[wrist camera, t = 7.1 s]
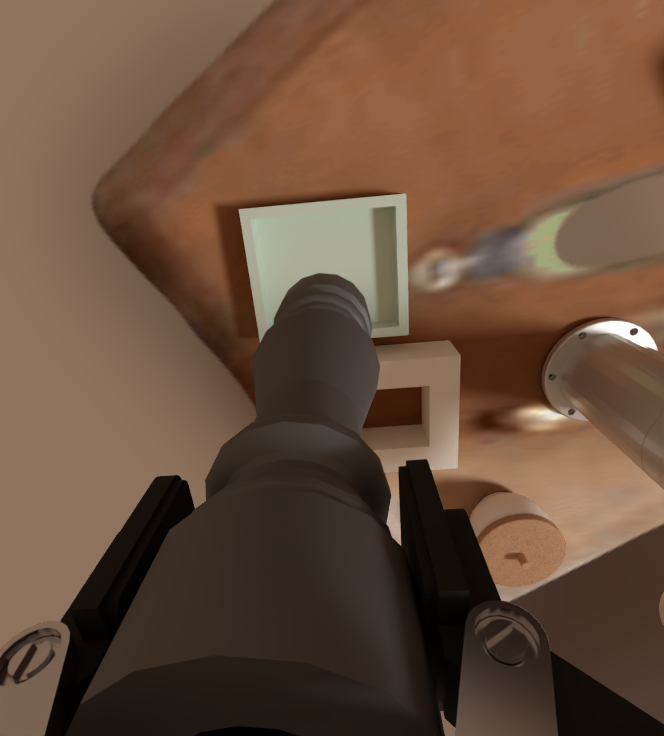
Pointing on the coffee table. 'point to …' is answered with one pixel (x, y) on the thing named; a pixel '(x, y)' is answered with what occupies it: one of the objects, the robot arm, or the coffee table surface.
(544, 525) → the lidded jar
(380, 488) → the candle holder
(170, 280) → the coffee table surface
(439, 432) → the socket block
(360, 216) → the parts tray
